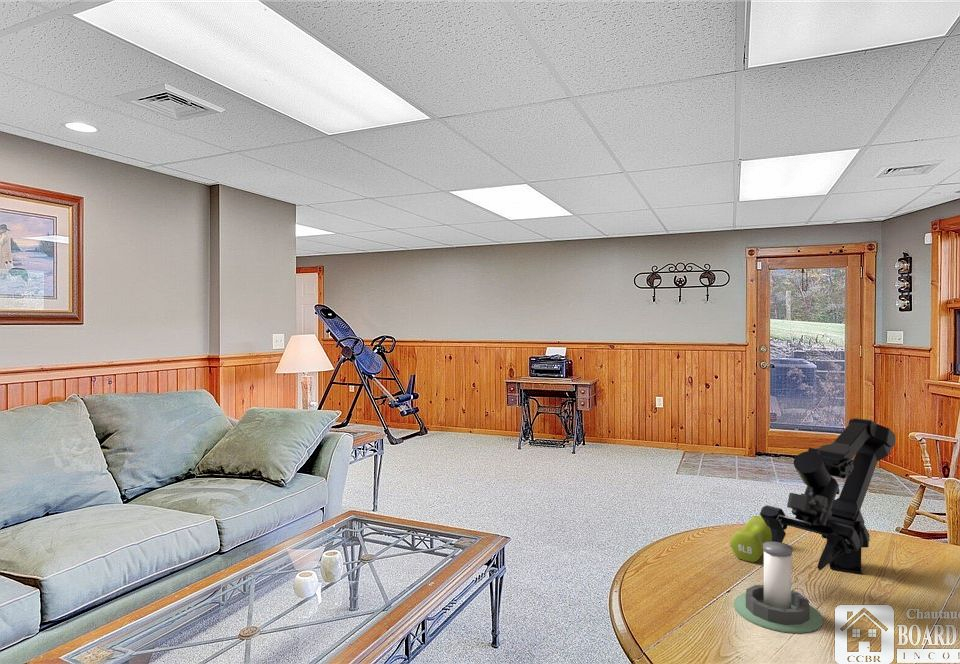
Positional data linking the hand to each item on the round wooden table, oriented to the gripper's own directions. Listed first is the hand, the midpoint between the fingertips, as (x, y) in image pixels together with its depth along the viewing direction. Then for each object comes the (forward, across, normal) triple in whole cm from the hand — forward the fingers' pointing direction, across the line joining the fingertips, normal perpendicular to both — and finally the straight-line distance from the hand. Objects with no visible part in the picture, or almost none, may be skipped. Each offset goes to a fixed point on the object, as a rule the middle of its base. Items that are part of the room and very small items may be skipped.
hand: (795, 561), depth 124 cm
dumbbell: (-7, -18, +19) cm, 27 cm away
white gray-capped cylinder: (+11, 0, 0) cm, 11 cm away
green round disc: (+12, 0, 0) cm, 12 cm away
